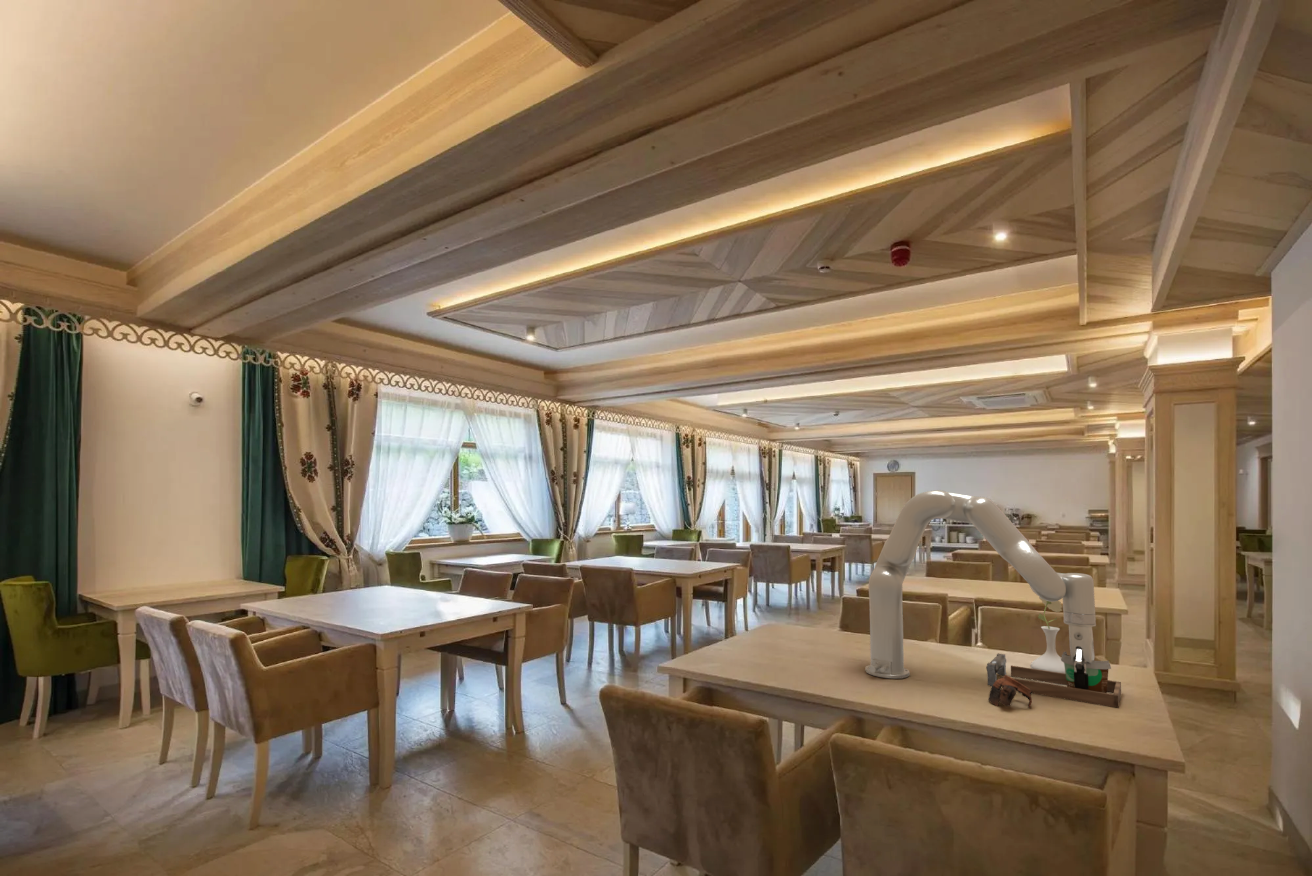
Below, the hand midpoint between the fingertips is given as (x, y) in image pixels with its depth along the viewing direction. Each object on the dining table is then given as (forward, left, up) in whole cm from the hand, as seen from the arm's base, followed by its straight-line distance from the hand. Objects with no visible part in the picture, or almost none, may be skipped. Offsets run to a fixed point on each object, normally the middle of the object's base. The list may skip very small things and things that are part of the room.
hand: (1082, 684), depth 179 cm
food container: (-1, 0, -3) cm, 3 cm away
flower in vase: (+19, +10, -3) cm, 21 cm away
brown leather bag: (-24, +14, -3) cm, 28 cm away
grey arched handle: (+1, +21, -2) cm, 21 cm away
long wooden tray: (0, +6, -2) cm, 6 cm away
